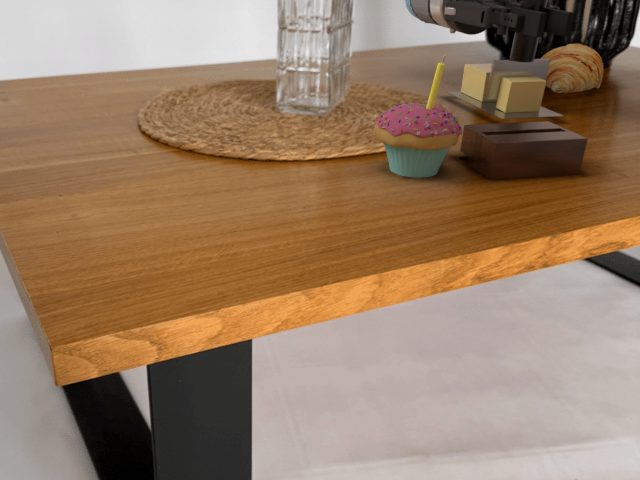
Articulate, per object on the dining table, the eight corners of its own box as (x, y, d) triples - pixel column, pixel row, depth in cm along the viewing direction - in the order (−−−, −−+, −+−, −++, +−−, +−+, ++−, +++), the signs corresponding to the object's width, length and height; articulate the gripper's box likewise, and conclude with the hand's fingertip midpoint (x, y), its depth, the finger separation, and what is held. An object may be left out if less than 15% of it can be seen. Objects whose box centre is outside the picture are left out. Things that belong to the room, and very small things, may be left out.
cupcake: (470, 173, 71) (489, 52, 66) (423, 192, 66) (440, 63, 60) (401, 155, 77) (414, 42, 71) (353, 171, 71) (363, 51, 66)
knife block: (541, 156, 77) (548, 121, 75) (578, 176, 71) (588, 138, 69) (458, 161, 75) (464, 124, 73) (490, 182, 69) (496, 143, 67)
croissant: (574, 126, 102) (614, 80, 97) (518, 88, 103) (554, 40, 98) (583, 95, 119) (617, 55, 114) (534, 63, 120) (566, 21, 115)
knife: (534, 94, 94) (560, -17, 87) (546, 100, 92) (573, -14, 84) (480, 96, 93) (502, -17, 85) (491, 102, 90) (514, -14, 83)
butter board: (445, 100, 102) (450, 63, 99) (500, 98, 103) (507, 62, 101) (499, 128, 88) (507, 86, 85) (562, 125, 89) (572, 84, 87)
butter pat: (495, 107, 92) (501, 77, 90) (529, 106, 93) (536, 76, 91) (504, 112, 90) (511, 82, 88) (539, 111, 91) (546, 80, 89)
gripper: (509, 30, 106) (607, 56, 85) (411, 32, 103) (488, 59, 82) (519, -23, 102) (623, -10, 82) (417, -23, 99) (499, -9, 79)
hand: (555, 25), depth 82 cm, fingers closed on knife, 3 cm apart
